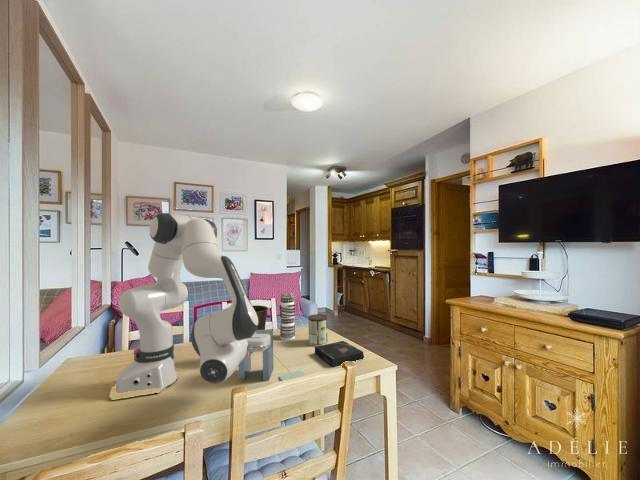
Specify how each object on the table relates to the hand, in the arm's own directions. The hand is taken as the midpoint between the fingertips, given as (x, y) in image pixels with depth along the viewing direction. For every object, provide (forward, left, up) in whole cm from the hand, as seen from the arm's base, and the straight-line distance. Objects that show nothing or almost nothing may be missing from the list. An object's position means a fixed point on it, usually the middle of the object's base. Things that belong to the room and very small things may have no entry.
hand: (246, 334), depth 103 cm
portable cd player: (+46, +11, -22) cm, 53 cm away
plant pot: (+19, +60, -22) cm, 66 cm away
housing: (+7, +13, -22) cm, 26 cm away
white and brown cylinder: (+35, +48, -22) cm, 63 cm away
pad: (+19, +1, -22) cm, 29 cm away
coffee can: (+46, +32, -22) cm, 60 cm away
